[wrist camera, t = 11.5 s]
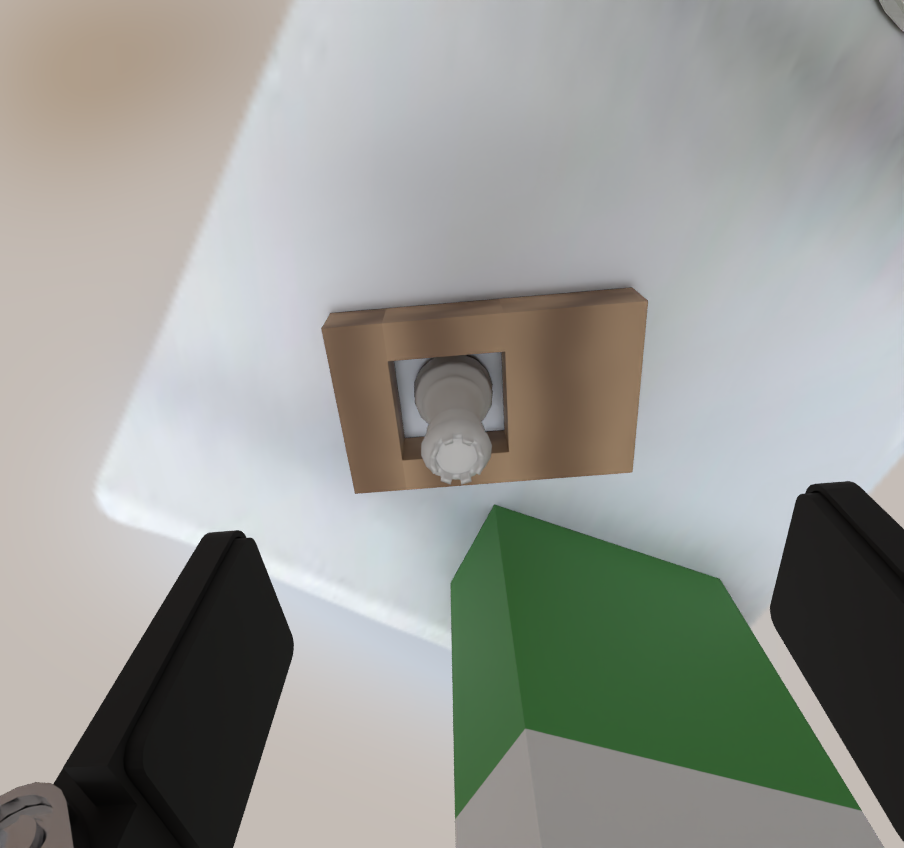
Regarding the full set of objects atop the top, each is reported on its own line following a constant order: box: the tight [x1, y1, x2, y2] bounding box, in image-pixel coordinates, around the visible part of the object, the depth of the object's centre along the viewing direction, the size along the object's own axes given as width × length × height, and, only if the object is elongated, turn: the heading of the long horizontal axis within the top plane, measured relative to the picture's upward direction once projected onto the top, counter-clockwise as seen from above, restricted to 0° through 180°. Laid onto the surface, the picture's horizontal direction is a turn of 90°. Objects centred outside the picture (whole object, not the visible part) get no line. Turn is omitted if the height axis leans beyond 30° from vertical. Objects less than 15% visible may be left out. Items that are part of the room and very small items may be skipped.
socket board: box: [321, 288, 648, 494], centre depth 30 cm, size 16×10×2 cm, turn 95°
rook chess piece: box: [414, 355, 493, 485], centre depth 28 cm, size 4×4×8 cm
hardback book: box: [451, 505, 884, 848], centre depth 28 cm, size 18×7×24 cm, turn 68°
